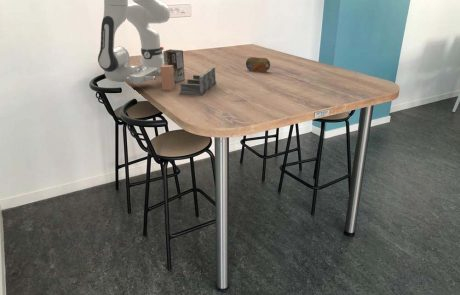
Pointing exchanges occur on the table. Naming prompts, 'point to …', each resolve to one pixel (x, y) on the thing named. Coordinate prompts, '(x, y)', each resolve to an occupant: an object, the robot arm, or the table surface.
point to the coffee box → (175, 63)
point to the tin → (257, 64)
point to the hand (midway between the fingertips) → (158, 76)
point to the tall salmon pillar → (167, 77)
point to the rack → (199, 83)
